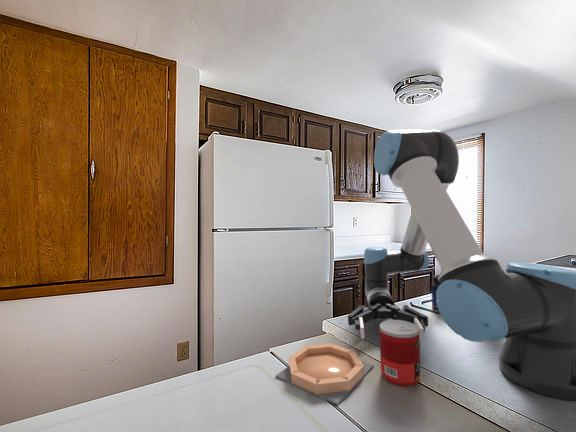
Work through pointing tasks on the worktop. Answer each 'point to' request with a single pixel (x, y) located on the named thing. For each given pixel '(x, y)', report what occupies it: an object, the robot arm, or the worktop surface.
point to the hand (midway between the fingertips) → (391, 333)
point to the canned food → (400, 352)
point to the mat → (331, 397)
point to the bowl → (325, 368)
